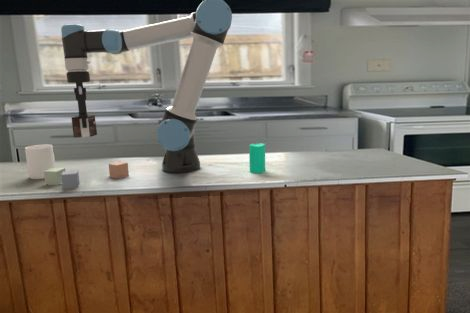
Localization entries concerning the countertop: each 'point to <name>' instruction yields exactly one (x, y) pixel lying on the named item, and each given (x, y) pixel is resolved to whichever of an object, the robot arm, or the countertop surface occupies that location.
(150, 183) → the countertop surface
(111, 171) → the cube terracotta
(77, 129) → the box
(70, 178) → the cube slate
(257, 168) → the candle
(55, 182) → the cube sage
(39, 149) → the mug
